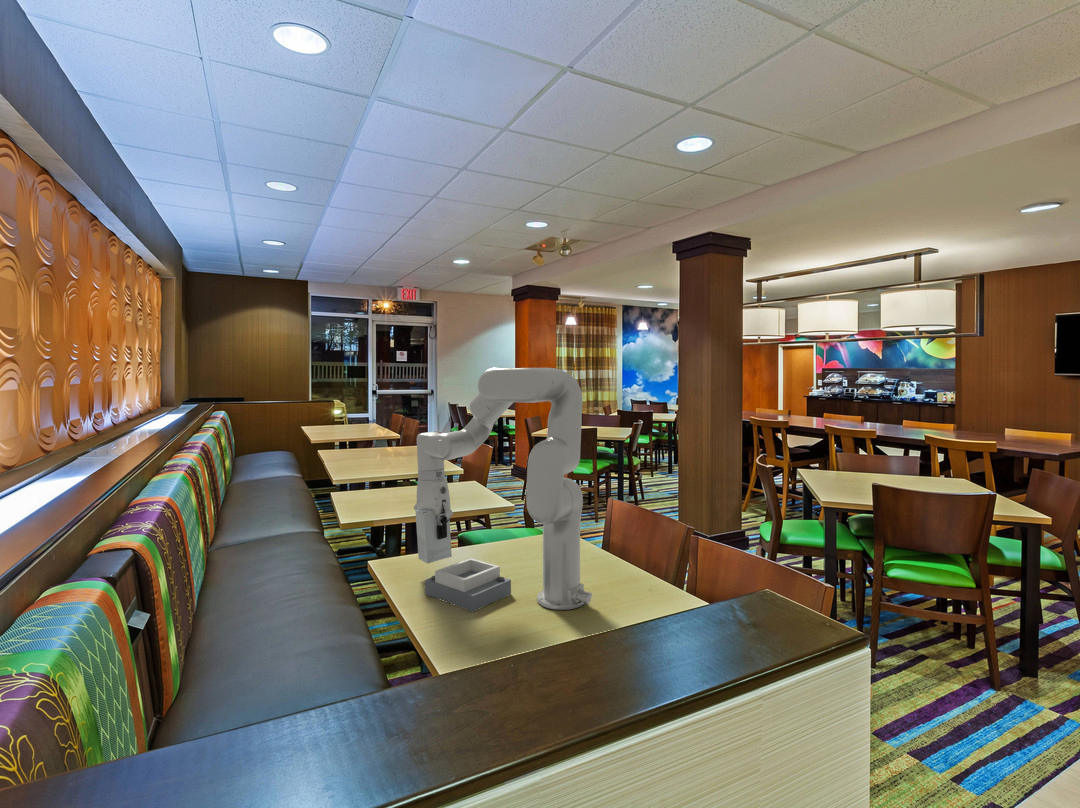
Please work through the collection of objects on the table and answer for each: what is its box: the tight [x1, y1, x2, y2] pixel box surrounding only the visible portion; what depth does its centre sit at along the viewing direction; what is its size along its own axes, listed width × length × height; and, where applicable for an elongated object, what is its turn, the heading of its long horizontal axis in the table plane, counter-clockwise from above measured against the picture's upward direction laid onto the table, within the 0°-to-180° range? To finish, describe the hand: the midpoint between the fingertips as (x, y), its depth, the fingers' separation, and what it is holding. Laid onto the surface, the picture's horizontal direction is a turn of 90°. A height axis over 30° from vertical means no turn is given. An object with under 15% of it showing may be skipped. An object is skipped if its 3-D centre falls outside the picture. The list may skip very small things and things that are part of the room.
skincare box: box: [415, 509, 453, 564], centre depth 163 cm, size 8×6×15 cm
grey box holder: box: [424, 557, 512, 612], centre depth 149 cm, size 18×14×7 cm
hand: (433, 535), depth 164 cm, fingers closed on skincare box, 6 cm apart
